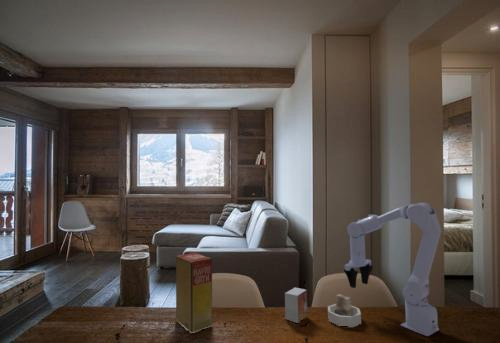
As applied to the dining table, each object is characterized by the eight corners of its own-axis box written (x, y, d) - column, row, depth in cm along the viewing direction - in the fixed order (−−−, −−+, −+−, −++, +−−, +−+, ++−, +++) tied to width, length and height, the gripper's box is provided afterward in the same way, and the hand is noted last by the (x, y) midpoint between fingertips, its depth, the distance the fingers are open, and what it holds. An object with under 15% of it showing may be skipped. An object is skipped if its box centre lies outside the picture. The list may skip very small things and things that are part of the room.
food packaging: (214, 326, 110) (213, 257, 111) (190, 335, 104) (190, 262, 105) (196, 314, 120) (195, 252, 121) (174, 322, 115) (174, 255, 116)
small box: (298, 325, 110) (297, 295, 111) (285, 321, 114) (284, 292, 114) (308, 317, 117) (307, 289, 117) (295, 313, 120) (294, 286, 120)
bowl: (367, 321, 112) (366, 311, 112) (346, 330, 106) (346, 319, 106) (342, 310, 122) (341, 301, 122) (321, 318, 115) (321, 308, 115)
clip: (353, 317, 114) (353, 309, 114) (343, 321, 110) (343, 313, 111) (344, 313, 117) (344, 306, 117) (334, 317, 114) (334, 309, 114)
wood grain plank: (351, 318, 112) (350, 297, 113) (347, 319, 111) (346, 299, 111) (340, 313, 116) (339, 294, 117) (336, 315, 115) (336, 295, 116)
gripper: (360, 247, 130) (361, 279, 130) (338, 252, 122) (339, 286, 122) (375, 250, 124) (376, 283, 124) (352, 255, 116) (353, 291, 116)
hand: (358, 285), depth 122 cm, fingers open, 7 cm apart
